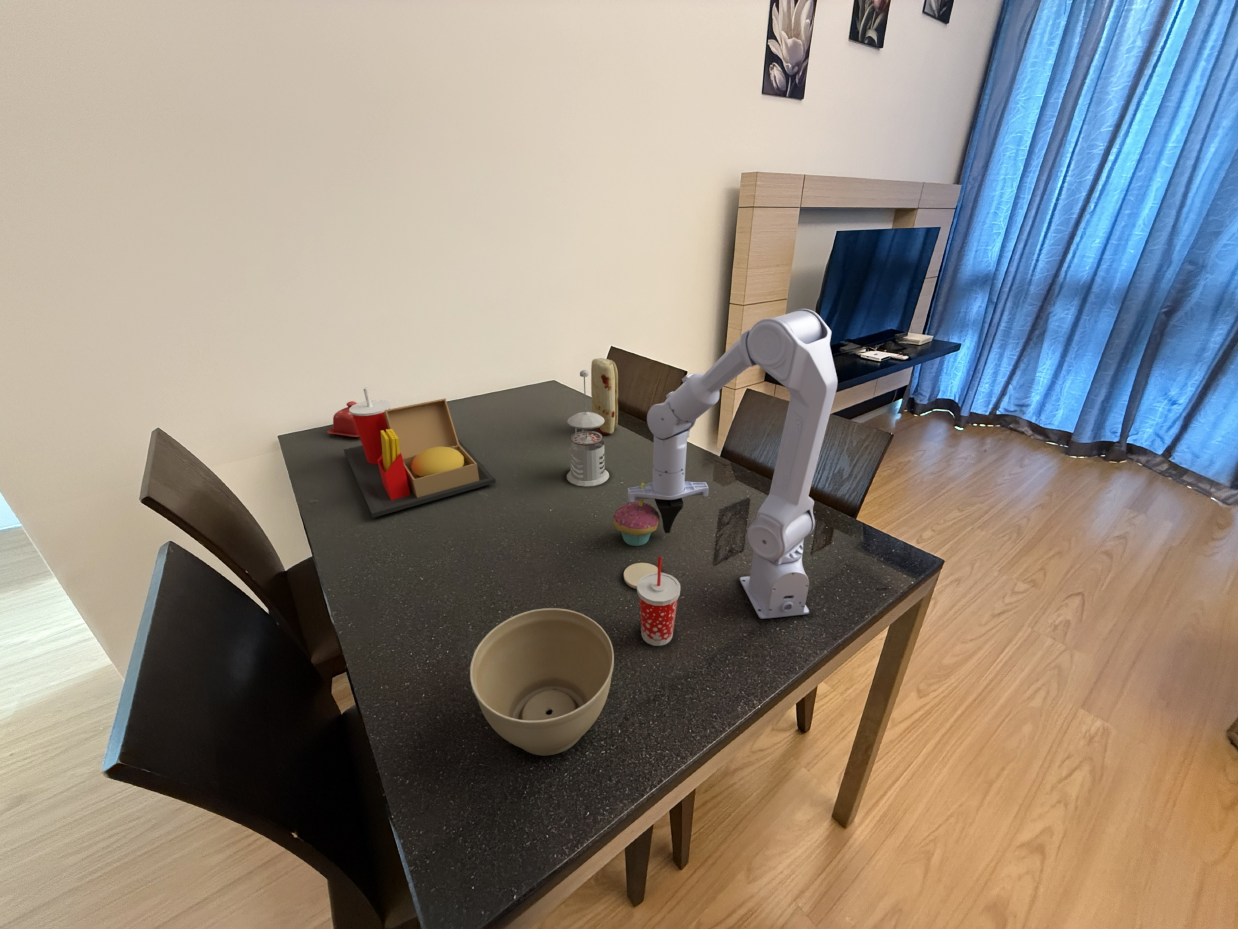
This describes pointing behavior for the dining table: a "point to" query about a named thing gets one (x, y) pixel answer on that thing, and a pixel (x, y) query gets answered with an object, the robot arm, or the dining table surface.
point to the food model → (605, 393)
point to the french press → (586, 448)
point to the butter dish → (344, 422)
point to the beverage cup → (658, 606)
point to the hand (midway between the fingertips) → (666, 530)
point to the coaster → (637, 573)
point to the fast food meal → (410, 455)
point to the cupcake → (636, 521)
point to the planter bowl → (543, 678)
